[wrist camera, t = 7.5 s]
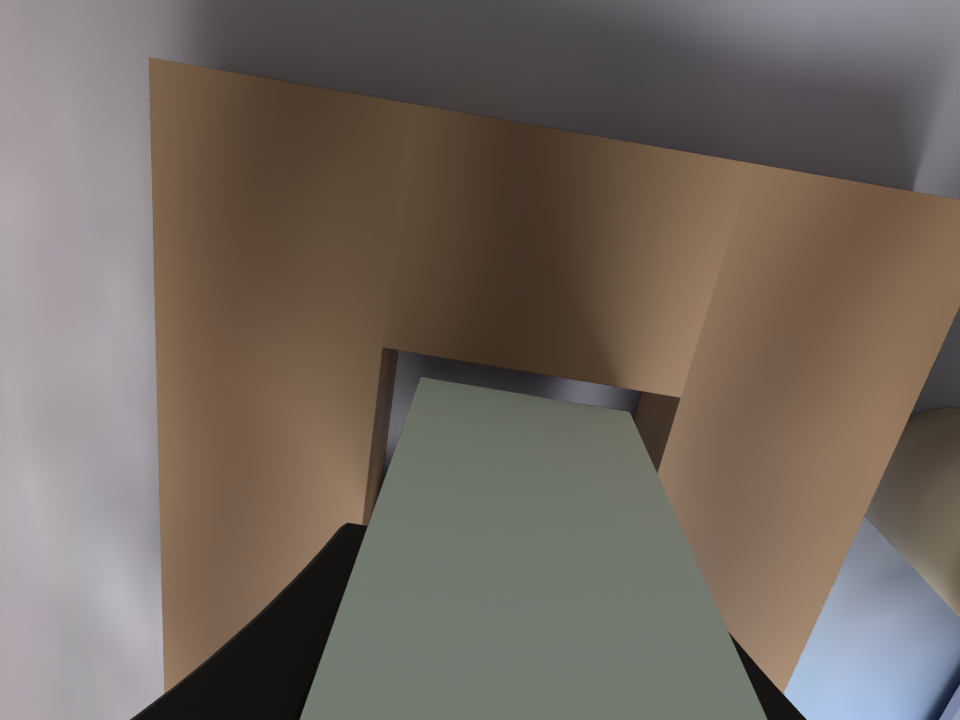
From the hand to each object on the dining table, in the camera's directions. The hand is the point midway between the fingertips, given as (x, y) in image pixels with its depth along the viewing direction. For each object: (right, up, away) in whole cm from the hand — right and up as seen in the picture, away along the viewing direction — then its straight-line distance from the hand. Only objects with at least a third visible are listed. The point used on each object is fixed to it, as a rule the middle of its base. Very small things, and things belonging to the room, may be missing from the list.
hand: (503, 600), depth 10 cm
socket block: (0, +2, +5) cm, 5 cm away
